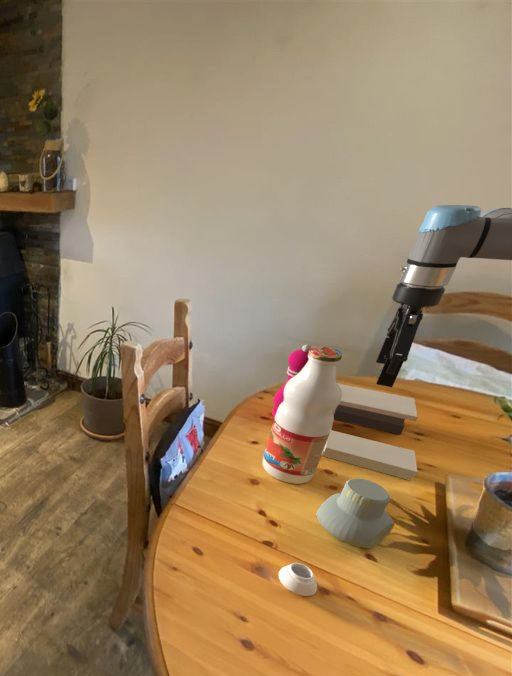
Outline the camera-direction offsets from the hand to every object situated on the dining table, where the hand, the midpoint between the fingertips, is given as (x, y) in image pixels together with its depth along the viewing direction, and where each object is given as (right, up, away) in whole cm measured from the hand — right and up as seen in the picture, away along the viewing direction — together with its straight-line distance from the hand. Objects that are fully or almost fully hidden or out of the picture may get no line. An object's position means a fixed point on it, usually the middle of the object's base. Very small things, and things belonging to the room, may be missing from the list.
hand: (383, 373), depth 98 cm
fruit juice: (-29, -21, -8) cm, 37 cm away
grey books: (+1, -11, +6) cm, 13 cm away
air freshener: (-28, -29, -24) cm, 47 cm away
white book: (+1, -7, +4) cm, 8 cm away
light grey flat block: (-10, -19, -6) cm, 22 cm away
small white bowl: (-43, -34, -32) cm, 64 cm away
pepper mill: (-17, -11, +10) cm, 22 cm away
